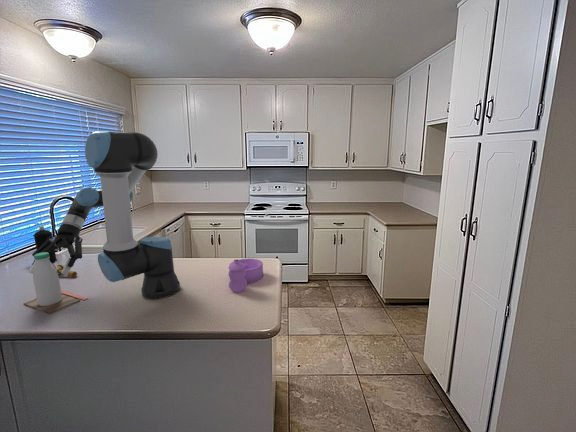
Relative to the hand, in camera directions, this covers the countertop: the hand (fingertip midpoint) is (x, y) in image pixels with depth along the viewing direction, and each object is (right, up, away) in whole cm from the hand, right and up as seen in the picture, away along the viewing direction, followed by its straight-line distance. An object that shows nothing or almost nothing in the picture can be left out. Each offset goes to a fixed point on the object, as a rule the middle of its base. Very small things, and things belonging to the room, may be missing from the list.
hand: (48, 274), depth 124 cm
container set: (+74, -7, +18) cm, 77 cm away
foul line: (+4, -10, +8) cm, 13 cm away
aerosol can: (-38, -3, +50) cm, 63 cm away
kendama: (-17, -7, +29) cm, 34 cm away
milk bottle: (0, -11, +1) cm, 11 cm away
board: (+1, -12, +1) cm, 12 cm away
